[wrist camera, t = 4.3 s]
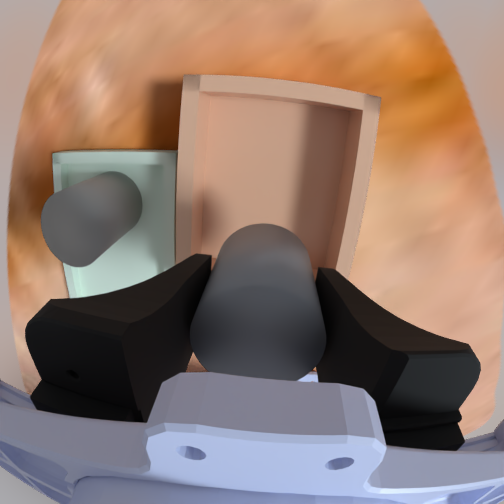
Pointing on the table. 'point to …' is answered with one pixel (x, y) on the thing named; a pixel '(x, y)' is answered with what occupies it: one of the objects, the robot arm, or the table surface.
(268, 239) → the pebble
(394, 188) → the table surface
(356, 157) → the dish
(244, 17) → the table surface
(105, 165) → the parts tray
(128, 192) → the pebble
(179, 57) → the table surface
